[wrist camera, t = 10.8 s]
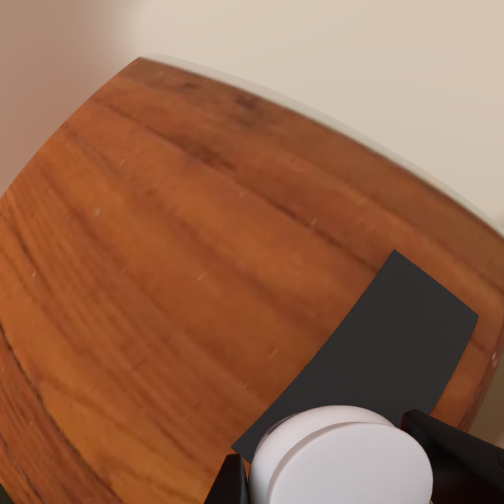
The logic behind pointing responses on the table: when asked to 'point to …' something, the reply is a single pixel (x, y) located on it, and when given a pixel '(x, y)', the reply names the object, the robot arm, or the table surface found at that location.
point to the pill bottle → (339, 461)
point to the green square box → (4, 497)
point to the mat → (380, 353)
